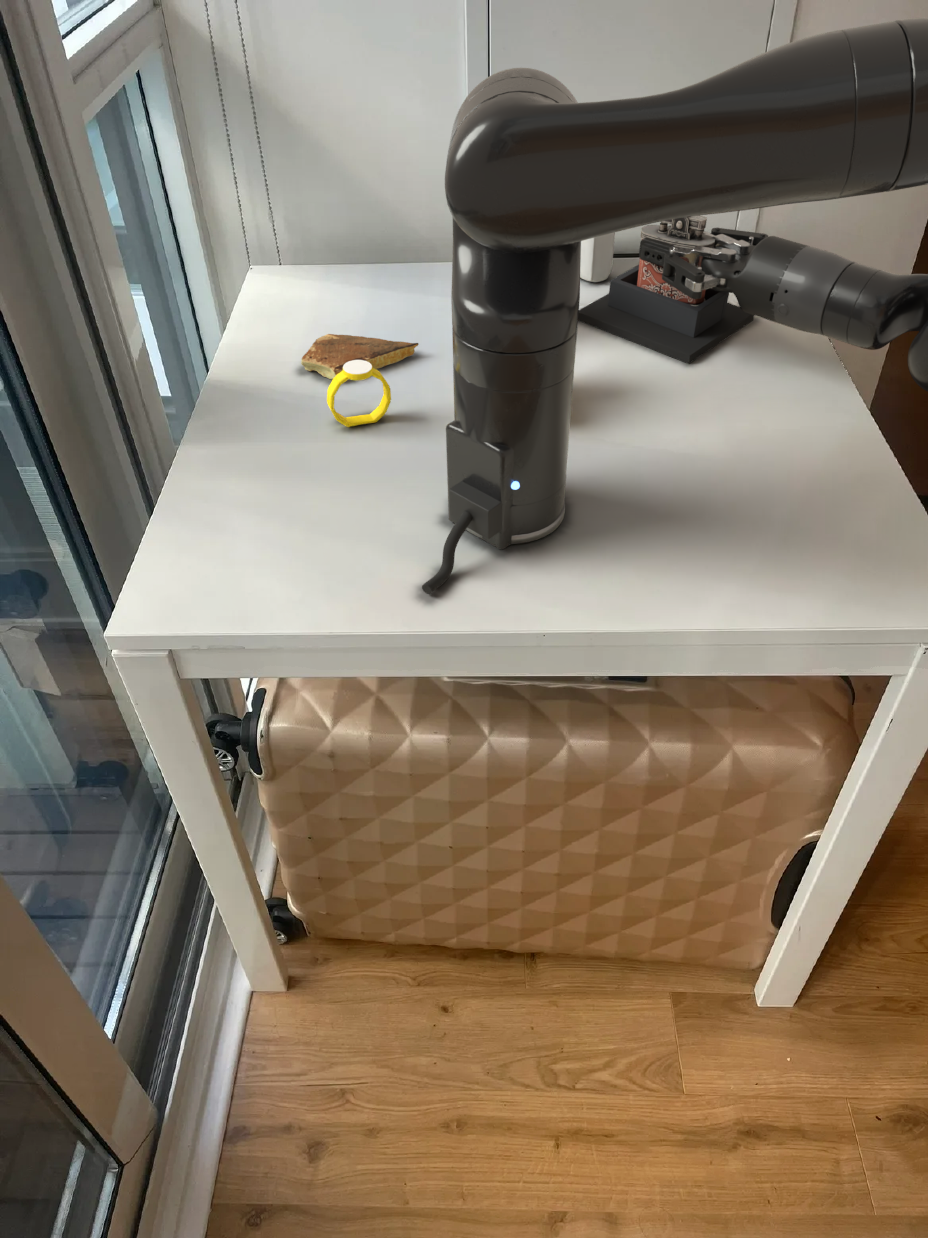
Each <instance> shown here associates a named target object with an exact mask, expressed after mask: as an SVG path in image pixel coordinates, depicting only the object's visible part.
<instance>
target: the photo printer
mask: <svg viewBox="0 0 928 1238" xmlns="http://www.w3.org/2000/svg"><path fill="white" fill-rule="evenodd" d="M615 237H616V232H614V233H610V234H606V235H602V236H598V237H594V238H591V239H587V240H583V241H581V262H580V279H582V280H585V281H588V282H591V283H600V282H603V281H605V280H607V279H608V278H609V277H610V274H611V273H612V271H613V264H614V263H613V261H614V249H615V239H616V238H615Z"/></svg>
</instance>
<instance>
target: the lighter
mask: <svg viewBox="0 0 928 1238" xmlns="http://www.w3.org/2000/svg"><path fill="white" fill-rule="evenodd" d="M707 219H708V217H707V216H706V215H698V216H691V217H683V218H677V219H671V220H666V221H661V222H659V224H647V225H643V226H641V230H640V238H641V240H643V239H645V238H651V239H654V240H657V241H661V242H665V243H668V244H671V245H674V246H677V247H682V248H687V249H693V248H694V247H695V246H703V247H708V248H714V244H715V239H713V238H712V236H709V235H705V234H703V232H704V231H705V229H706V227H707V221H708V220H707ZM670 225H671V227H669V226H670ZM680 258H682V259H683V260H685V261H687V262H688V263H689V260H688V258H684V257H680ZM701 262H702V256H700V258H699V265H698V267H701ZM638 265H639V272H638V281H637V286H638V287H641V288H644V289H647V290H650V291H652V292H655V293H658V294H661V295H664V296H667V297H669V298H672V299H675V300H678V301H681V302H683V303H686V304H689V305H692V306H695V307H697V306H698V305H700V304H701V303H703V302H705V299H704V296H705V290H706V289H705V290H702V296H701V298H700V299H692V298H690V297H689V296H687V295H685V294H684V293H682V292H681V291H679V290H678V289H676V288H675V287H673V286H671V285H670V284H668V283H667V282H665V281H664V280H662V273H663V267H662V266H659V265H656V264H653V263H650V262H647V261H644V260H641V259H640V258H639V264H638Z"/></svg>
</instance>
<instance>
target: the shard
mask: <svg viewBox="0 0 928 1238" xmlns="http://www.w3.org/2000/svg"><path fill="white" fill-rule="evenodd" d="M418 346H419V342H408V341H395V340H388V339H383V338H377V337H367V336H363V335H362V336H361V335H350V334H335V333H328V334H325V335H321V336H320V337H318V338H317V339H315V341H314V342H313V343H312V345H311V346H310V347H309V348H308V350H307V351H306V353H304V355H303V356H302V357H301V361H300V362H301V363H300V365H302V366H303V367H304V370H305V371H307V372H312V371H315V372H317V373H318V374H319V375H321V376H322V377H324V378H327V379H329V380H333V378H334V377H335V376H336V375H337V374H339V373H340V372H341V371H343V365H344V364H345V363H347V362H349V361H352V360H364V361H367V362H369V363H370V364H371V365H372V367H373V368H374V369H376V370H378V369H381V368H383V367H386V366H389V365H393V364H396V363H398V362H401V361H402V360H404V359H405V358H408V357H411V356H414V354H415V352H416V351H415V349H416V348H417V347H418Z"/></svg>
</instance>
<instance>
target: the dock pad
mask: <svg viewBox="0 0 928 1238" xmlns="http://www.w3.org/2000/svg"><path fill="white" fill-rule="evenodd" d="M638 272H639V264H637V265H636V266H634V267H631V268H630V269H628V270H626V271H625V272H623V273H621V274H619V275H618V276H616V277H614V278H612V279H610V281H609V290H608V293H607V294H606V295H604V296H601V297H600V298H598V299H596V300H594V301H593V302H591V303H590V304H588V305H585V306H584V307H582V308H581V309H580V308H579V312H578V322H581V323H583V324H586V325H588V326H591V327H594V328H597V329H599V330H601V331H604V332H606V333H609V334H611V335H614V336H617V337H620V338H622V339H625V340H627V341H630V342H633V343H635V344H637V345H639V346H642V347H645V348H648V349H649V350H653V351H655V352H658V353H661V354H663V355H665V356H668V357H671V358H673V359H676V360H677V361H681V362H683V363H685V364H689V365H690V363H692V362H694V361H695V360H697V359H698V358H700V357H701V356H703V355H704V354H706V353H707V352H708V351H710V350H712V349H713V348H714V347H716V346H717V345H719V344H720V343H723V341H725V340H726V339H728V338H729V337H731V336H732V335H734V334H735V333H736V332H738V331H739V330H741V329H743V328H745V326H747V325H749V324H750V323H752V322H753V321H754V319H755V315H752V314H750V313H747V312H744V311H743V310H742V309H741V308H740V307H739V305H736V304H733V303H731V302H728V301H729V296H730V293H729V292H720V291H716V290H714V289H713V288H709V289H706V290H705V296H704V299H705V302H703V303H701V304H700V305H698V306H697V307H695V306H692V305H689V304H686V303H683V302H681V301H678V300H675V299H672V298H669V297H667V296H664V295H661V294H658V293H655V292H652V291H650V290H647V289H644V288H641V287H638V286H637V281H638Z"/></svg>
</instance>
